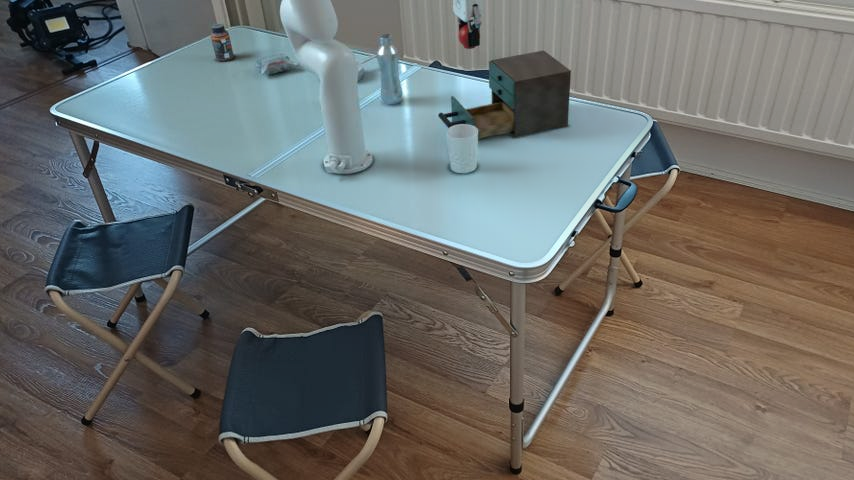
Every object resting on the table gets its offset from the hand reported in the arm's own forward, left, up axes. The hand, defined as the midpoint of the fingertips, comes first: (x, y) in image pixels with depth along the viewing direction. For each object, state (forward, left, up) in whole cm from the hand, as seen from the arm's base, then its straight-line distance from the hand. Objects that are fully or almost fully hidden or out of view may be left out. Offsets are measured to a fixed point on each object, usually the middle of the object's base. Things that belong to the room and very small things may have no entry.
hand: (469, 41), depth 194 cm
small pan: (+23, +43, -22) cm, 54 cm away
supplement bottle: (+29, +93, -22) cm, 100 cm away
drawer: (-9, -4, -21) cm, 23 cm away
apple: (0, 0, -1) cm, 1 cm away
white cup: (-29, -5, -22) cm, 37 cm away
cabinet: (0, -17, -22) cm, 27 cm away
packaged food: (+21, +70, -22) cm, 77 cm away
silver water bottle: (+5, +25, -22) cm, 34 cm away
